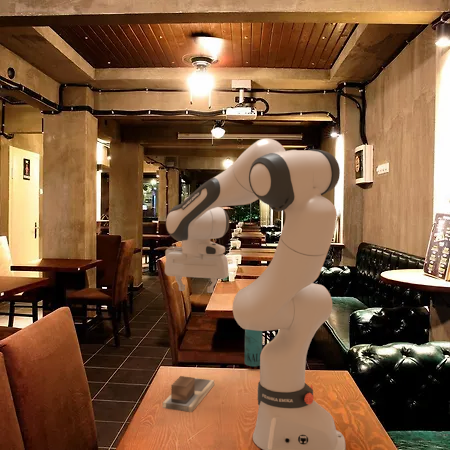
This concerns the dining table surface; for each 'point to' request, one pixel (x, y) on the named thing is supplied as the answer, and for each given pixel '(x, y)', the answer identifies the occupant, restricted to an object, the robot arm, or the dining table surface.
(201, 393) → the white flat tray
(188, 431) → the dining table surface
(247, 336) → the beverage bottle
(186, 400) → the block
